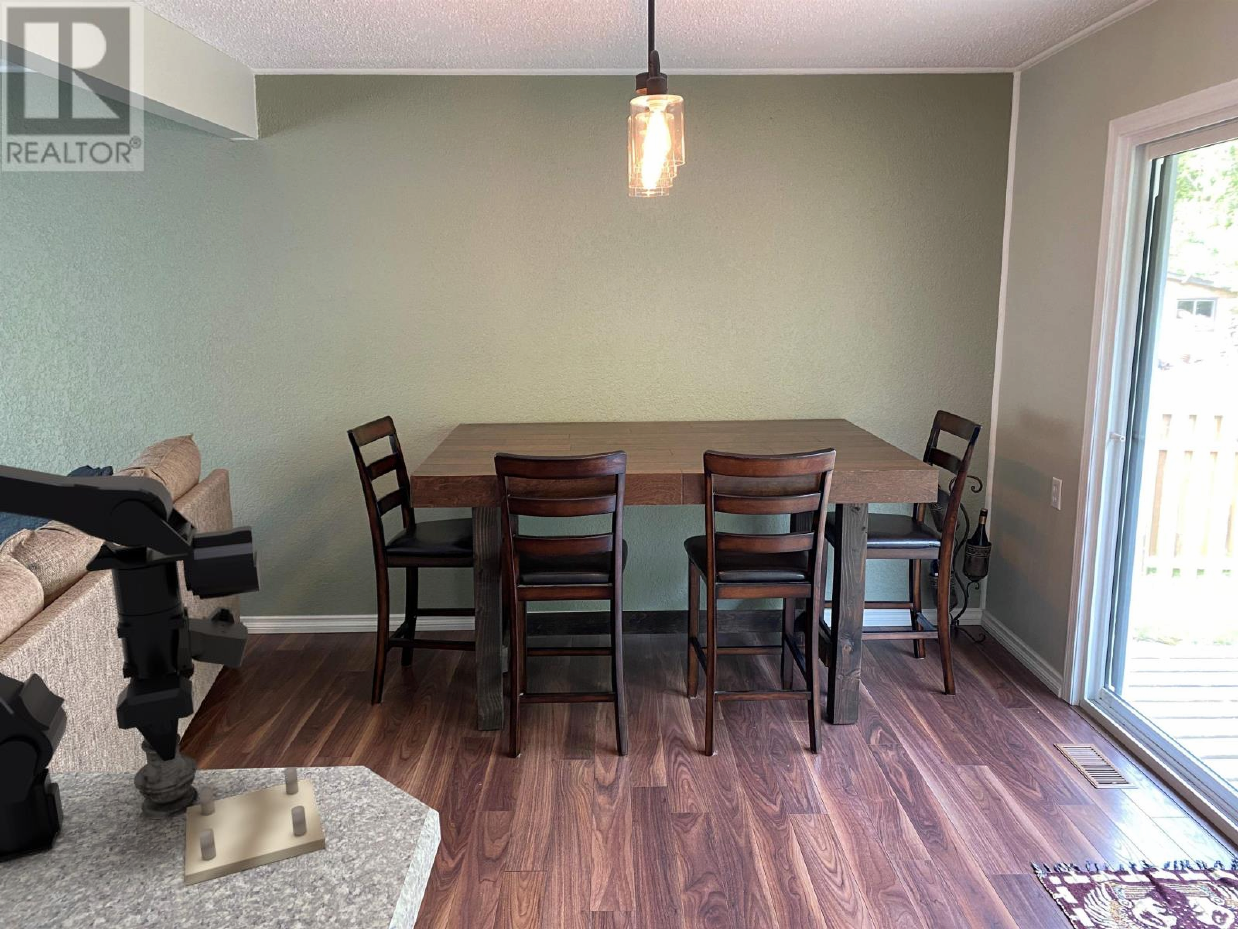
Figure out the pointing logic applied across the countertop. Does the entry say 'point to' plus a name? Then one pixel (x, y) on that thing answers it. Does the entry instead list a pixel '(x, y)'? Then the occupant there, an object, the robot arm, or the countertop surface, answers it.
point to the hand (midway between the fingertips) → (169, 750)
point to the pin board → (251, 828)
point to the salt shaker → (166, 783)
